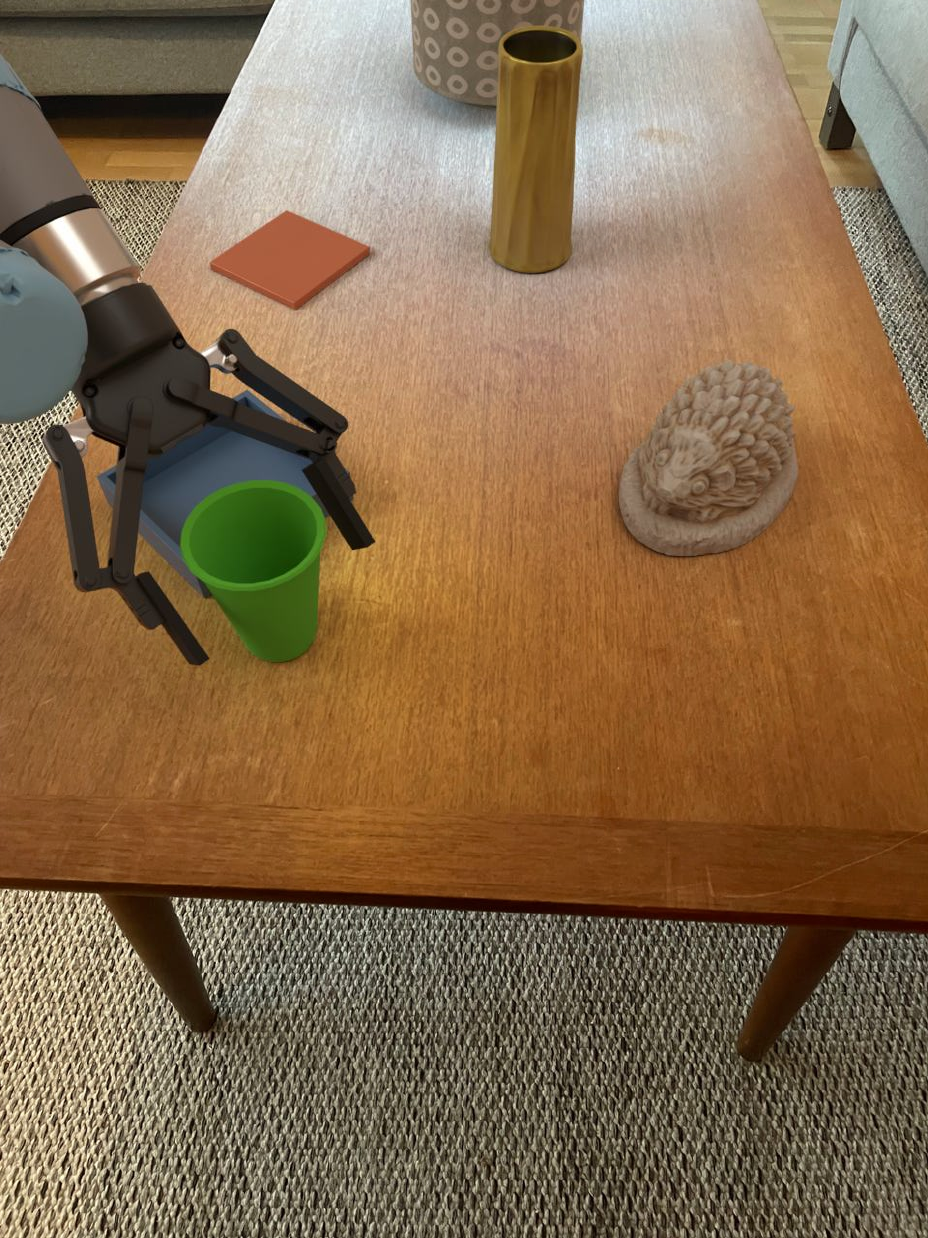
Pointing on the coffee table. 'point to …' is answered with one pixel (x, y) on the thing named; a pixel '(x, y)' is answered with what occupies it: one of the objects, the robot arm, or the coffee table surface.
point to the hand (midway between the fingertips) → (285, 602)
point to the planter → (476, 41)
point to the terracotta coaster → (290, 259)
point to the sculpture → (712, 464)
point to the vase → (535, 148)
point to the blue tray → (205, 481)
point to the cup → (260, 562)
